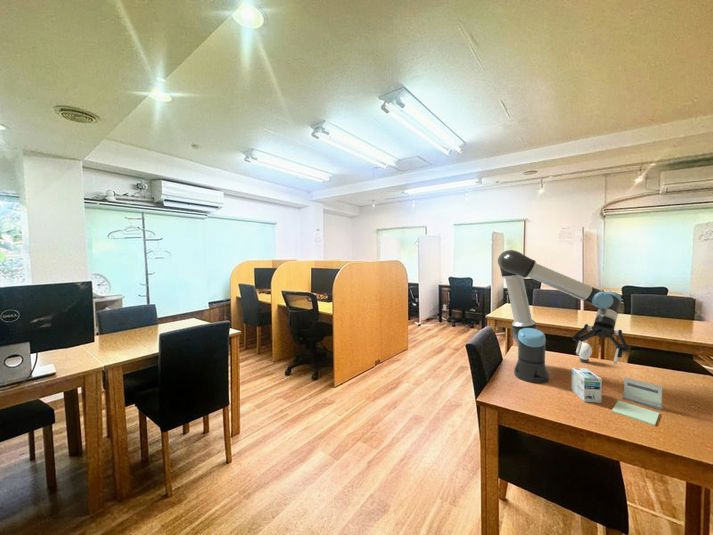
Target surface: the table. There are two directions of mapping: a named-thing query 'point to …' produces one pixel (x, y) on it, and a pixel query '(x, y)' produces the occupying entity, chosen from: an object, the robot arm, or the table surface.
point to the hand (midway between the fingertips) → (595, 358)
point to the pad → (636, 412)
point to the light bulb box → (586, 385)
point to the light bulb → (585, 353)
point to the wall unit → (643, 393)
